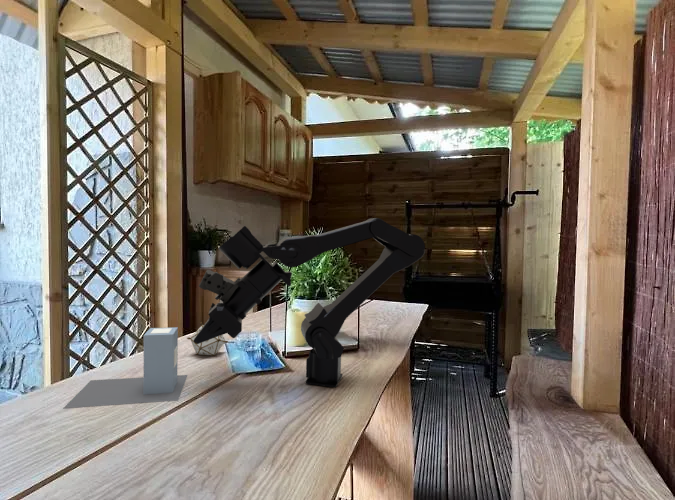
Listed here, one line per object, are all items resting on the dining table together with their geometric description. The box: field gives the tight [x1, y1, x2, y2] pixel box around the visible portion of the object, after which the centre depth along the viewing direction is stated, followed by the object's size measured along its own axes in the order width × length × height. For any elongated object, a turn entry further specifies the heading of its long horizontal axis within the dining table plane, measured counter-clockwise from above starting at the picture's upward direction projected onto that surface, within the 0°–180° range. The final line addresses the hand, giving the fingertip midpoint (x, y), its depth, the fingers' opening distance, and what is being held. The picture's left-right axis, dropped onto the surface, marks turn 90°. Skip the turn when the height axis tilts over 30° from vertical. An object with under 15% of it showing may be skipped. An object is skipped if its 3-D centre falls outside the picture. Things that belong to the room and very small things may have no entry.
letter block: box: [143, 326, 179, 394], centre depth 73 cm, size 5×5×11 cm
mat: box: [62, 374, 189, 410], centre depth 72 cm, size 18×12×1 cm, turn 104°
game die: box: [186, 321, 229, 357], centre depth 93 cm, size 9×8×10 cm
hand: (195, 342), depth 74 cm, fingers closed
